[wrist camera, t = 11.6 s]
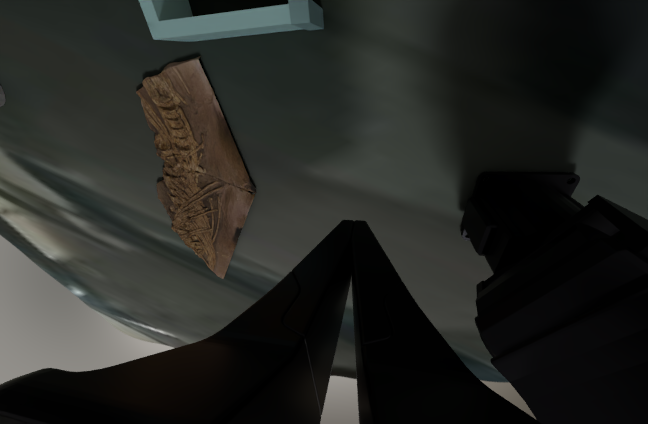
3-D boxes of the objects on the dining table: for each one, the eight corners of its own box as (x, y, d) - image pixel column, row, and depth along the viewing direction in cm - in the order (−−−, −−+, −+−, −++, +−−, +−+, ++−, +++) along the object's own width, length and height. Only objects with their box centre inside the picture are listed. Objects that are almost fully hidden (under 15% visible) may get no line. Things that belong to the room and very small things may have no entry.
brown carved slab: (129, 35, 18) (116, 34, 17) (266, 74, 18) (261, 75, 17) (176, 261, 33) (171, 266, 32) (252, 283, 33) (248, 290, 32)
